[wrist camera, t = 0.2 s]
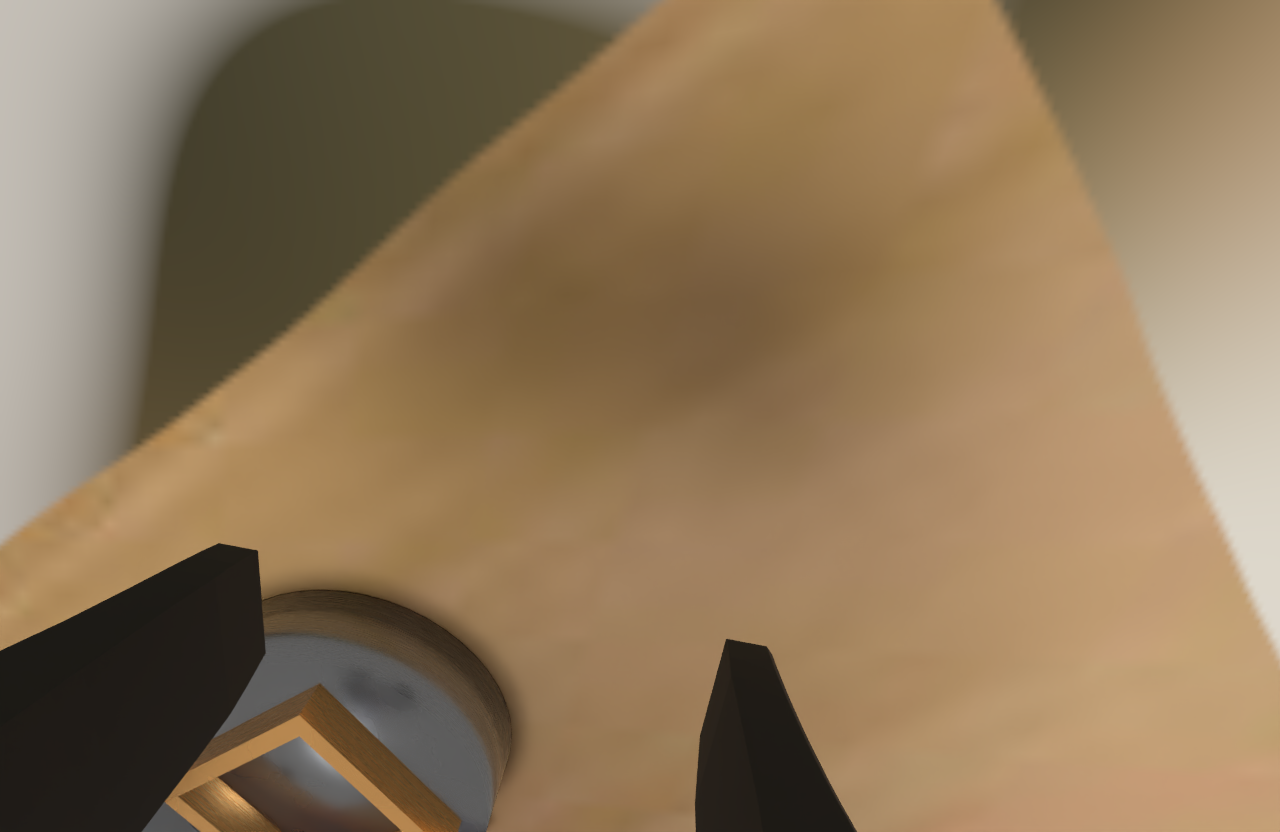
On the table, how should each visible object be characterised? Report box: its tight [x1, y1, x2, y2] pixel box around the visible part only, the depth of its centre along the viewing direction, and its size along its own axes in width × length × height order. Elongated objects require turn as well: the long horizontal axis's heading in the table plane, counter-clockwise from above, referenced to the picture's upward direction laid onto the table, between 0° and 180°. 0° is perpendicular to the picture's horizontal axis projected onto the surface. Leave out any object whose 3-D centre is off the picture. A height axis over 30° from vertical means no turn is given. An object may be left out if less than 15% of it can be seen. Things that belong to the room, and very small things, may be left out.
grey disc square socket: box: [165, 590, 512, 832], centre depth 25 cm, size 12×11×4 cm
